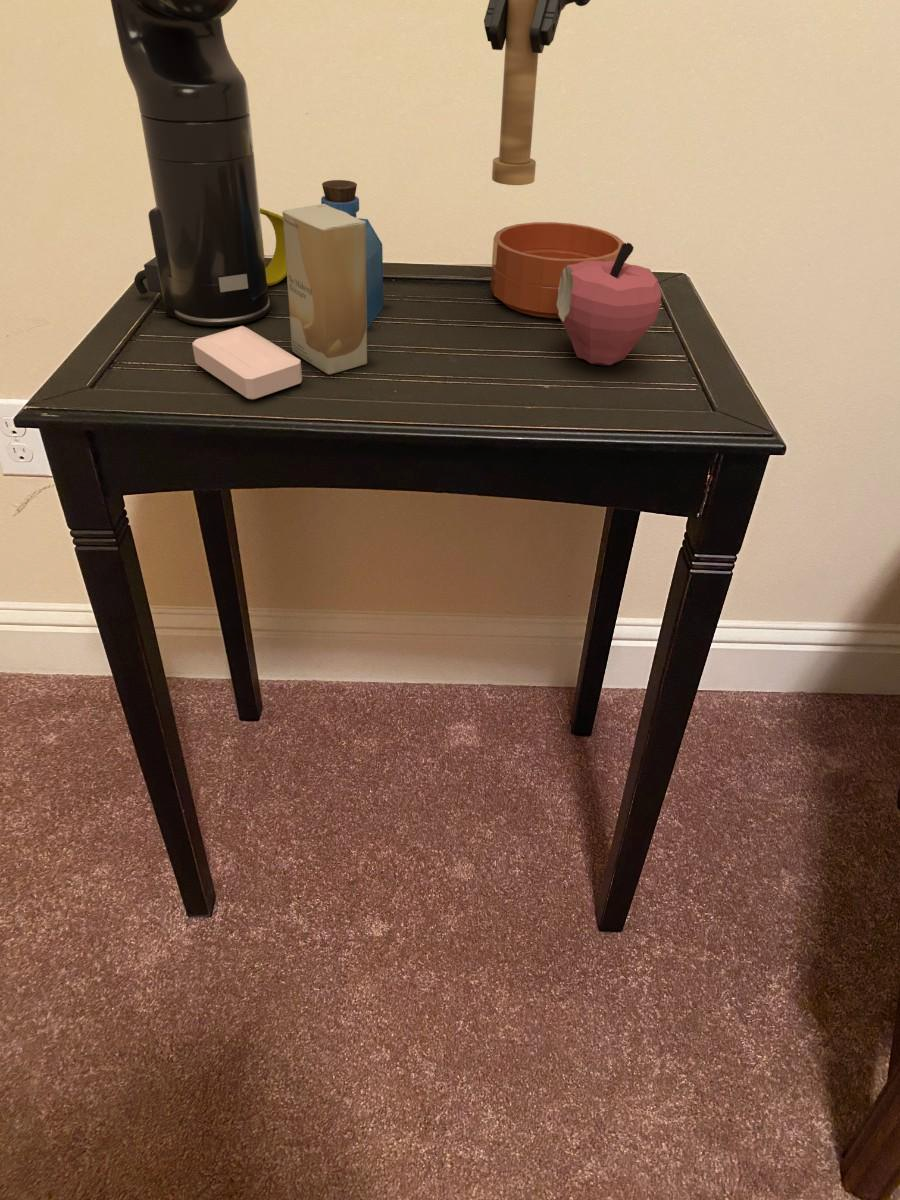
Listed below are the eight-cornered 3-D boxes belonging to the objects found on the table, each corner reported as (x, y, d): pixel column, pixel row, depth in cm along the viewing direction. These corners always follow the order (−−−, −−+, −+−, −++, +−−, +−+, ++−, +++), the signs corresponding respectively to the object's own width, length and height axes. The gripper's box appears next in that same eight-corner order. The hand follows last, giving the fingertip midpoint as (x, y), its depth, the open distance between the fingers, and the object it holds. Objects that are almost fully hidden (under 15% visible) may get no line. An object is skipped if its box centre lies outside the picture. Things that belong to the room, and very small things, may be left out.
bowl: (482, 315, 86) (486, 253, 82) (498, 274, 96) (502, 217, 92) (614, 327, 85) (624, 265, 81) (615, 284, 95) (624, 227, 91)
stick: (489, 183, 71) (499, -26, 62) (494, 173, 73) (505, -28, 65) (532, 186, 70) (549, -24, 61) (536, 176, 73) (552, -26, 64)
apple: (548, 338, 82) (560, 228, 76) (638, 341, 82) (657, 232, 76) (556, 380, 74) (570, 262, 68) (655, 384, 74) (678, 266, 68)
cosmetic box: (290, 353, 77) (277, 208, 69) (330, 342, 79) (322, 201, 72) (330, 377, 73) (321, 227, 66) (371, 365, 75) (367, 219, 68)
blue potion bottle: (366, 329, 82) (362, 195, 74) (305, 322, 83) (295, 189, 75) (383, 307, 87) (381, 179, 79) (324, 301, 88) (317, 173, 80)
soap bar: (250, 404, 69) (247, 376, 67) (193, 364, 74) (188, 338, 72) (305, 385, 72) (303, 357, 70) (247, 348, 77) (243, 322, 75)
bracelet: (269, 286, 94) (287, 293, 92) (207, 268, 88) (225, 276, 86) (285, 218, 92) (304, 224, 90) (223, 194, 86) (242, 200, 84)
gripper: (476, -213, 64) (416, -3, 62) (663, -214, 60) (604, 8, 59) (493, -118, 71) (439, 73, 69) (661, -114, 67) (608, 87, 66)
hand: (515, 42), depth 64 cm, fingers closed on stick, 2 cm apart
